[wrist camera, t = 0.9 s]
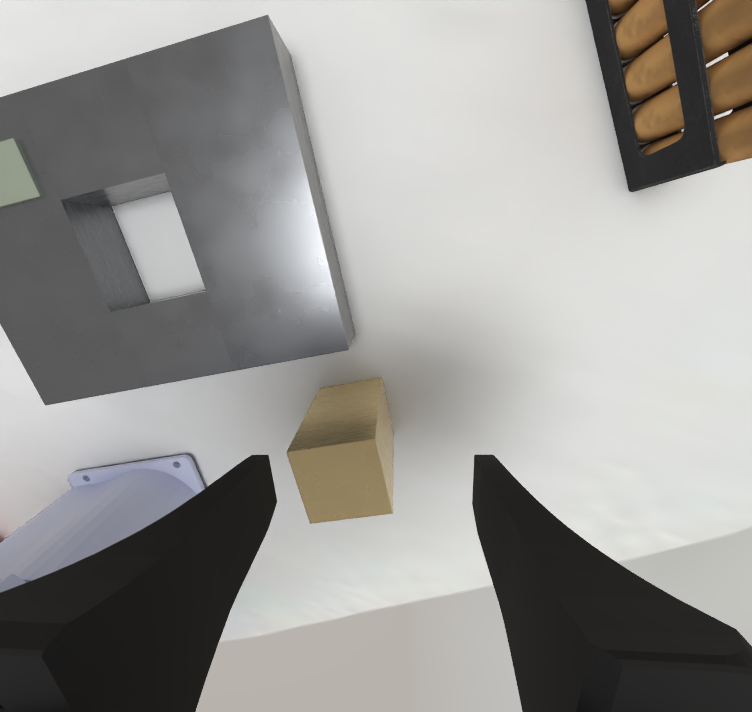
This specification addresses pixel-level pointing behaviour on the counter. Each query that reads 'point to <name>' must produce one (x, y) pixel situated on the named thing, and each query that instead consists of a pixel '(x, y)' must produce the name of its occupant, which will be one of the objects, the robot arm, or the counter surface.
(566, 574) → the robot arm
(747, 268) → the counter surface
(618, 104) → the ammunition clip
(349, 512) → the brass peg
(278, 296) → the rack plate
